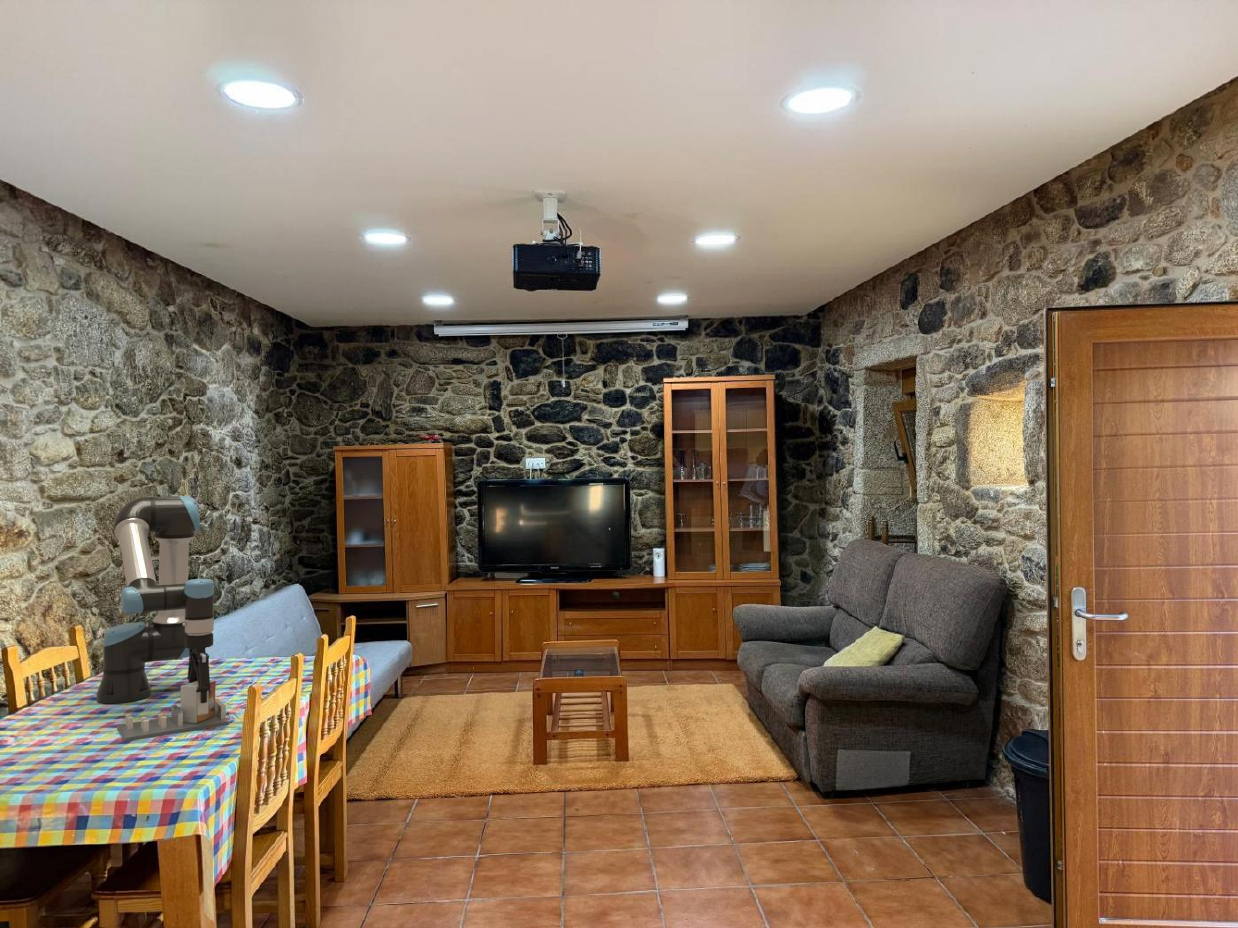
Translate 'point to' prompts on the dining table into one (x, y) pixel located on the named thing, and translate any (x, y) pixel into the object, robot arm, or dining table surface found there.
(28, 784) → the dining table surface
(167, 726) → the board
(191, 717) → the small box
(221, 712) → the end holder
